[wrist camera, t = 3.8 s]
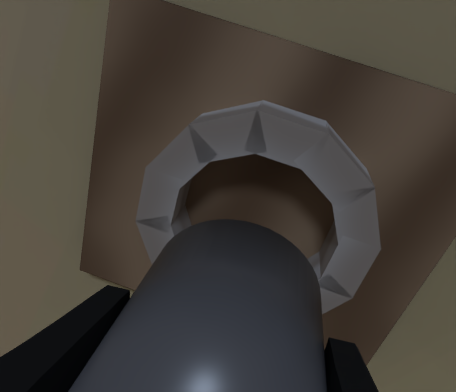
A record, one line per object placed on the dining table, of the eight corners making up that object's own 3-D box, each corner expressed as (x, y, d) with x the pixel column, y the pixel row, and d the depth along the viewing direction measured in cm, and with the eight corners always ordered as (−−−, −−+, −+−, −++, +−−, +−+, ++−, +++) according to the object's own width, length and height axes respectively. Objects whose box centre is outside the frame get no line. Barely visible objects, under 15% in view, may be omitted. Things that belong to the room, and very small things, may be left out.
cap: (341, 240, 9) (382, 478, 4) (300, 373, 11) (297, 633, 6) (157, 202, 10) (9, 372, 5) (151, 335, 12) (43, 546, 7)
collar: (520, 114, 13) (574, 135, 11) (358, 358, 20) (366, 409, 17) (123, -13, 14) (81, -22, 12) (89, 259, 21) (57, 293, 18)
